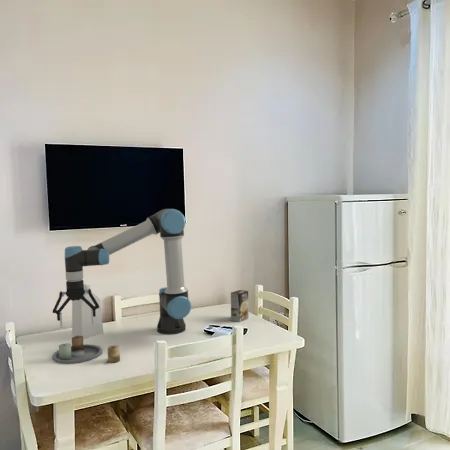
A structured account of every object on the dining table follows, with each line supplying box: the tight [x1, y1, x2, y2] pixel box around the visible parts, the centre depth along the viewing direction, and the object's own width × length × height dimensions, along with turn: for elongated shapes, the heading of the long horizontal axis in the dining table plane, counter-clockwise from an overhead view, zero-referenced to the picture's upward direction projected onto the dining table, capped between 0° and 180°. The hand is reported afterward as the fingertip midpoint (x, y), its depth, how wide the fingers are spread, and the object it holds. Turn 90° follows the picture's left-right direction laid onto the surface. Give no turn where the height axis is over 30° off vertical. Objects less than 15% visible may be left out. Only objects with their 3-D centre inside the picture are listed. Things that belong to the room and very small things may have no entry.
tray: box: [51, 343, 103, 365], centre depth 192 cm, size 21×21×2 cm
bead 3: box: [107, 345, 121, 364], centre depth 185 cm, size 5×5×6 cm
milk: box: [71, 283, 104, 340], centre depth 223 cm, size 12×12×26 cm
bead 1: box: [58, 342, 72, 360], centre depth 187 cm, size 5×5×6 cm
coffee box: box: [230, 289, 250, 323], centre depth 244 cm, size 9×6×16 cm
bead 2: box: [71, 335, 84, 352], centre depth 198 cm, size 5×5×6 cm
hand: (77, 325), depth 197 cm, fingers open, 13 cm apart
